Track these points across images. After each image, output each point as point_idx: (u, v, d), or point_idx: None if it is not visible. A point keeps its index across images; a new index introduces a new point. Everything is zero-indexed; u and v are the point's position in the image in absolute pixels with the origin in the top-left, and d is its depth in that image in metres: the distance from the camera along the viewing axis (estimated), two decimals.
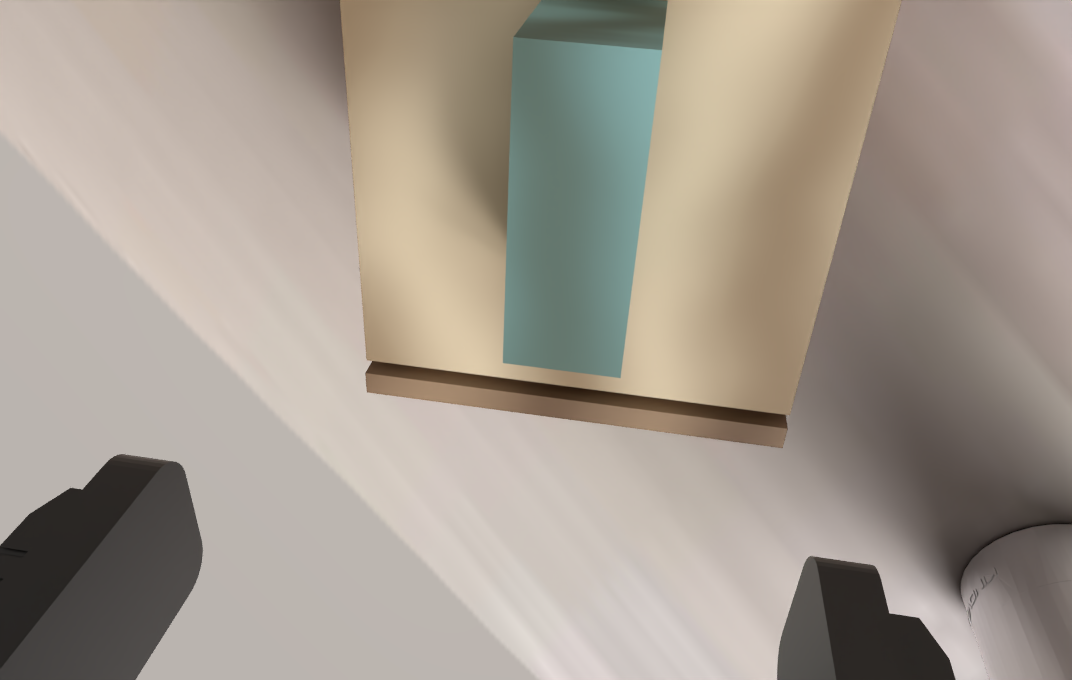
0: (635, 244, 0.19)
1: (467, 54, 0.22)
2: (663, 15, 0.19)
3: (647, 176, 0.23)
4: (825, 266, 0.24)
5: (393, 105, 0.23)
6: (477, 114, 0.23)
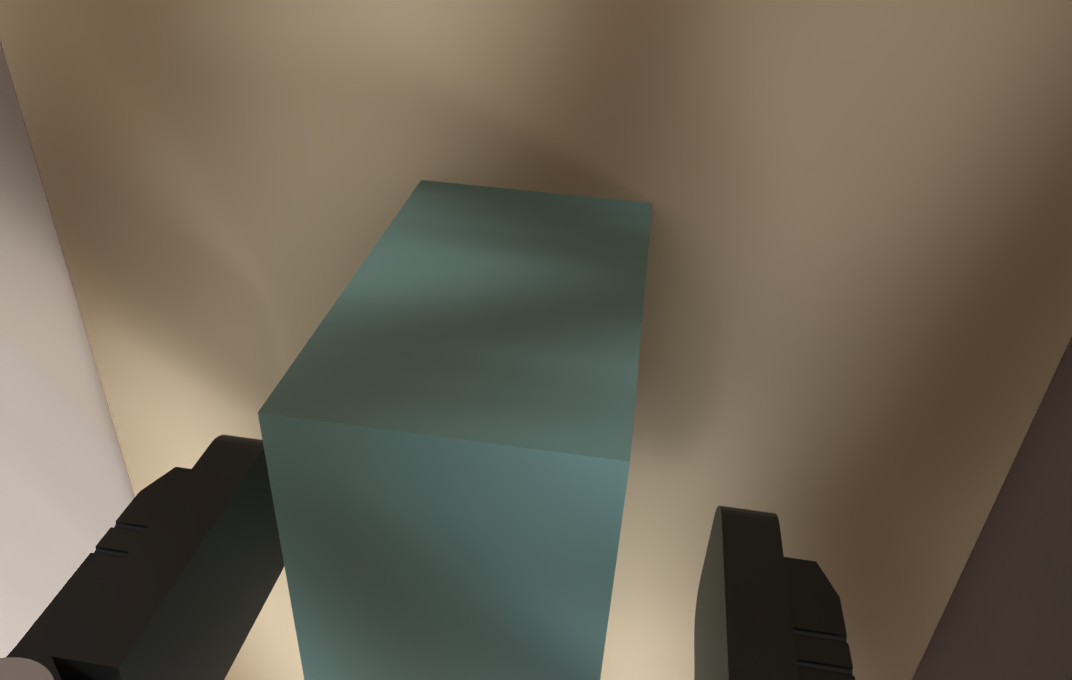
0: None
1: (285, 279, 0.12)
2: (641, 266, 0.09)
3: None
4: (932, 617, 0.14)
5: (168, 352, 0.13)
6: None
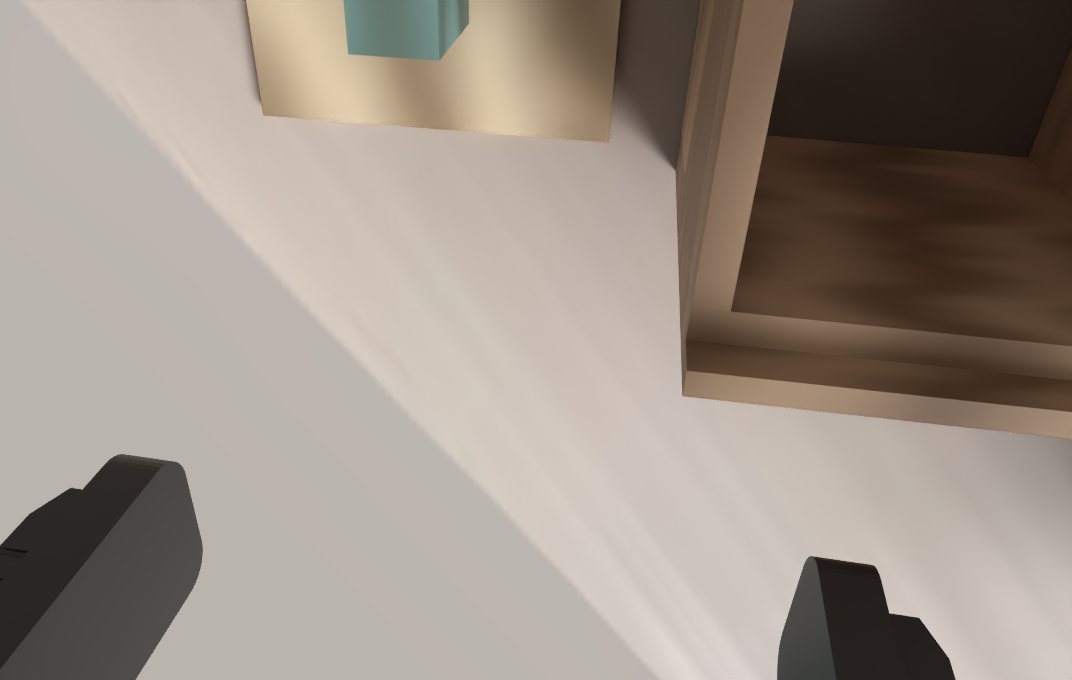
0: None
1: None
2: None
3: None
4: None
5: None
6: None
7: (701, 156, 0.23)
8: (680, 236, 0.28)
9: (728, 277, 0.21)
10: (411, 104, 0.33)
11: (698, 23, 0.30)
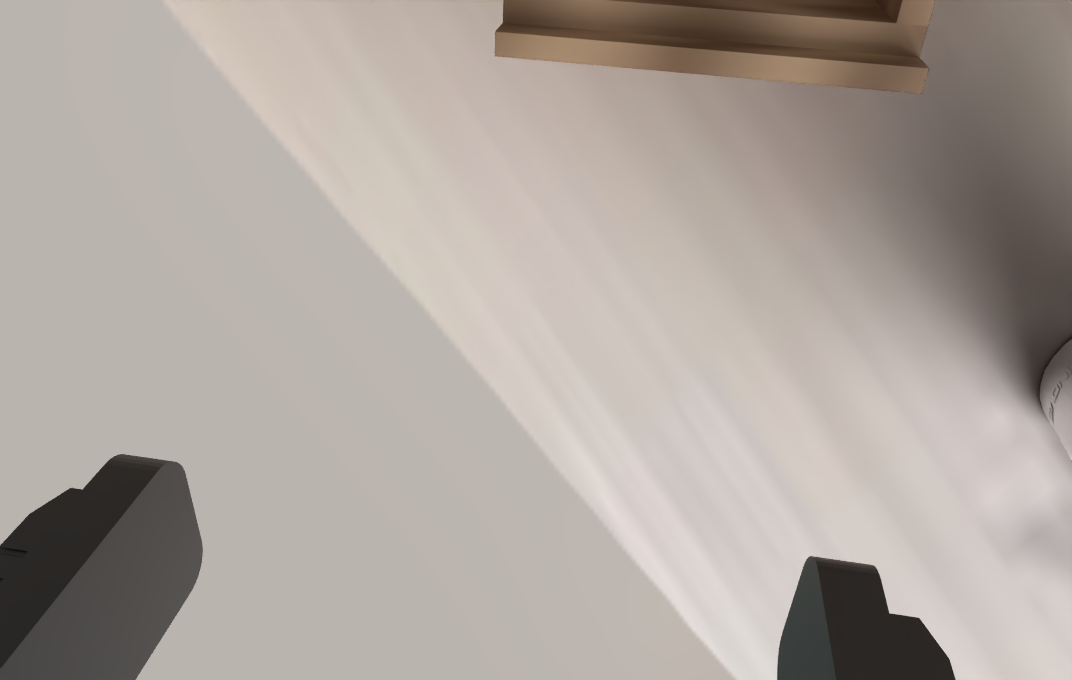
0: None
1: None
2: None
3: None
4: None
5: None
6: None
7: None
8: None
9: None
10: None
11: None
